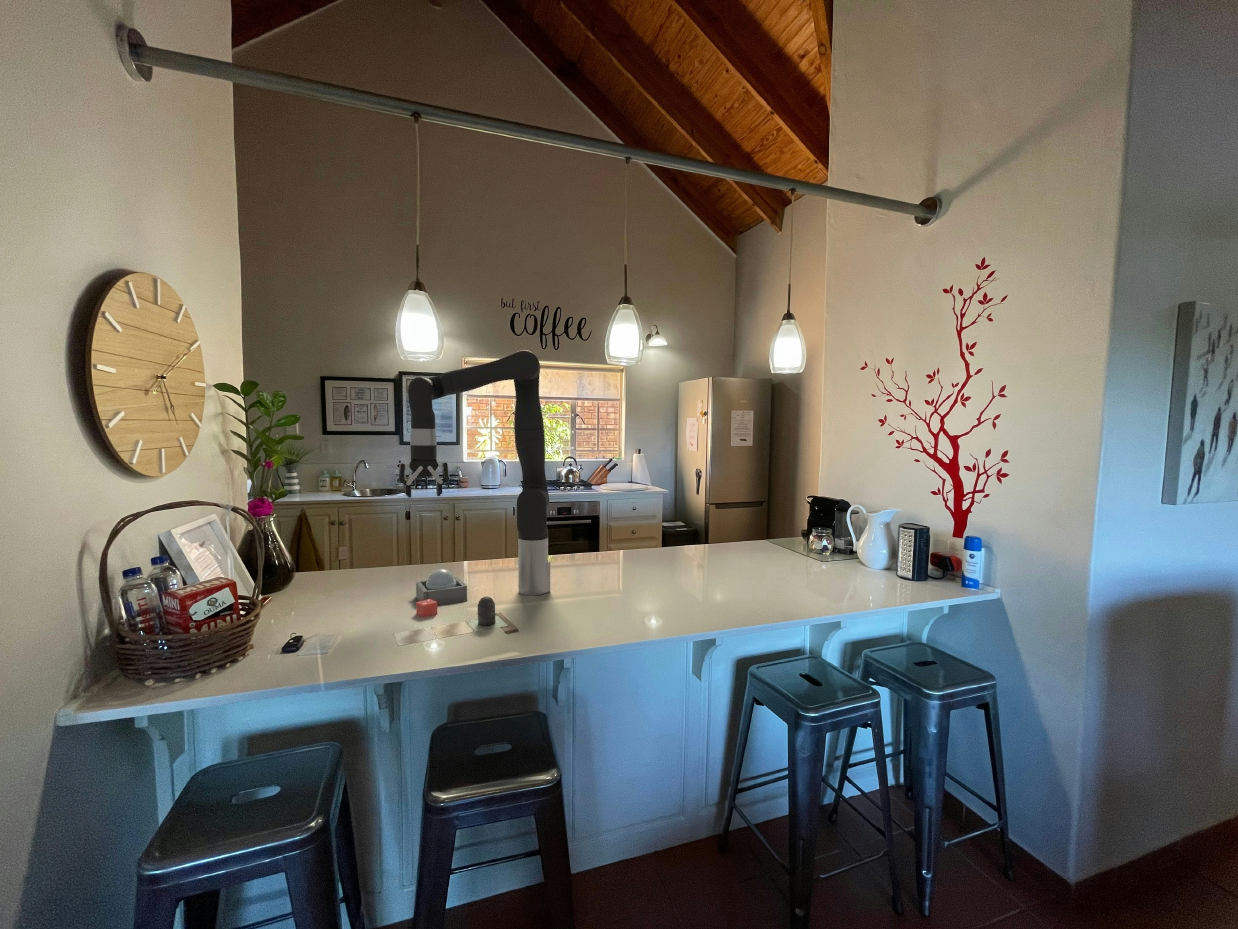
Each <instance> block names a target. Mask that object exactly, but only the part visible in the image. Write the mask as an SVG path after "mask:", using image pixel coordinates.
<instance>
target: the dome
mask: <svg viewBox="0 0 1238 929" xmlns="http://www.w3.org/2000/svg"><path fill="white" fill-rule="evenodd" d="M454 577H455V576H454V574H453V573H452V572H451V571H450V570H448V569H445V568H438V569H436V570H434V571H433V572H431V573H430V575H429V576H428V579H427V580H428V581H427V582H426V590H427V591H429V590H436V589H443V588H451V587H456V580H455V579H454Z"/></svg>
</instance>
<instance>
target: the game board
mask: <svg viewBox="0 0 1238 929" xmlns="http://www.w3.org/2000/svg"><path fill="white" fill-rule="evenodd" d="M495 622H496V623H495V624H494V625H491V626H479V625H478V618H477V619H470V620H466V622H465V621H459V622H454V623H453V622H452V623H448V624H443V625H436V626H431V627H430V628H429V627H425V628H418V629H411V630H406V631H401V632H396V633H395V632H394V633H393V634H392V635H393V637H394V639H395V642H396V643H397V646H405V645H406V646H407V645H411V644H416V643H417V644H418V643H423V642H427V641H433V640H436V637H437V639H438V640H439V639H444V638H450V637H454V636H455V637H456V636H461V635H466V634H471V633H474V632H476V633H477V632H483V631H487V630H493V629H498V628H500V629H501V630H502V631H503V633H505V634H510V633H515V632H519V631H520V630H519V628H518V627H517V625H515V623H513V622H512V621H510V619H509V618H507V616H506V615H504V614H503V613H502V612H501V611H500V612H495ZM469 626H470V627H471V628H470V627H469ZM431 630H432V631H433V633H432V631H431ZM434 634H435V635H434ZM435 636H436V637H435Z"/></svg>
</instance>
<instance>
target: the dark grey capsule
mask: <svg viewBox="0 0 1238 929" xmlns="http://www.w3.org/2000/svg"><path fill="white" fill-rule="evenodd" d="M495 613H496V603H495V601H494V599H493V598H492V597H490V596H484V597H482V598H480V600H479V601H478V603H477V619H478V625H479V626H491V625H494V624H495V623H496V622H495Z"/></svg>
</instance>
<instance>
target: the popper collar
mask: <svg viewBox="0 0 1238 929" xmlns="http://www.w3.org/2000/svg"><path fill="white" fill-rule="evenodd" d="M454 579H455V580H456V587H451V588H443V589H436V590H429V591H427V590H426V582H427V581H428V579H426V580H419V581H415V598H416V599H417V600H418V602H419V601H423V600H428V599H431V600H433V601H436V602H437V607H439V606H444V605H452V604H459V603H464V602H467V601H468V585H467V584H466V583H465V582H464V581H462V579H460V578H459V577H458V576H454Z"/></svg>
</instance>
